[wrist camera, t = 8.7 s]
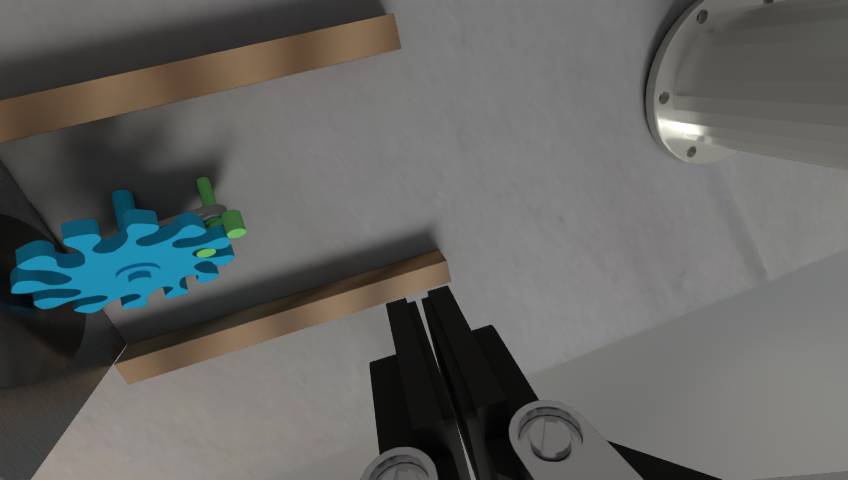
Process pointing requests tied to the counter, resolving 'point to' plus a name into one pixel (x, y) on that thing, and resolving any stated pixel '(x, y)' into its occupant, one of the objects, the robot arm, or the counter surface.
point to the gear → (129, 255)
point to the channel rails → (206, 78)
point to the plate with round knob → (41, 350)
